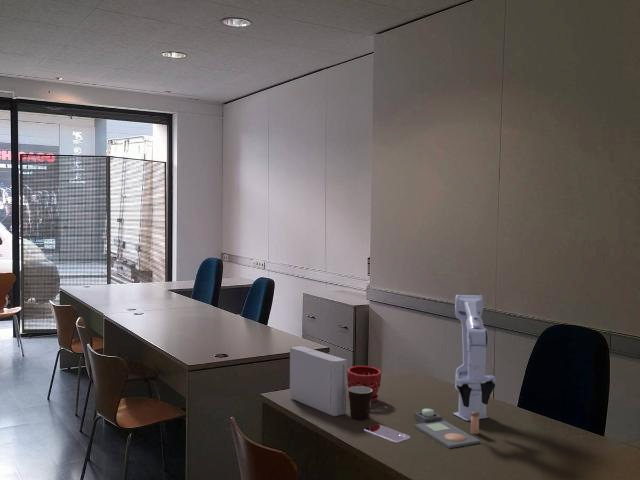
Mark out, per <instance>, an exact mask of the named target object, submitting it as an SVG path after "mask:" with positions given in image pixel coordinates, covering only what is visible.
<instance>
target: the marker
mask: <svg viewBox="0 0 640 480" xmlns="http://www.w3.org/2000/svg"><path fill="white" fill-rule="evenodd" d="M479 427H480V419H479V412H478V411H471V420H470V434H472V435H478V434H479V433H480V428H479Z"/></svg>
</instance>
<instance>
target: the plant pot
mask: <svg viewBox="0 0 640 480" xmlns="http://www.w3.org/2000/svg"><path fill="white" fill-rule="evenodd" d="M363 373H364V374H363ZM381 381H382V371H381V370H380V369H378V368H376V367H373V366H369V365H356V366H351V367H349V368H347V387H348V389H349V388H350V387H354V386H364V387H369V388H371V389H372V390H373V391H372V398H371V404H372V403H375V402H376V401H377V400H378V398H379V395H378V392H379V390H380V387H381ZM347 396H348V398H349V392H348V394H347Z"/></svg>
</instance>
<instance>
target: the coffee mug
mask: <svg viewBox="0 0 640 480" xmlns="http://www.w3.org/2000/svg"><path fill="white" fill-rule="evenodd" d="M347 390H348V391H347V392H348V393H349V397H348V402H349V410H350V411H349V412H350V418H351V419H352V420H354V421H366V420H367V421H368V420H369V418H370V411H371V404H372V403H371V398H372V391H373V390H372V389H371V388H369V387H364V386H354V387H350V388H348V389H347Z"/></svg>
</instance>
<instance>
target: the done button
mask: <svg viewBox="0 0 640 480" xmlns="http://www.w3.org/2000/svg"><path fill="white" fill-rule="evenodd" d="M434 411H435V410H434V409H432V408H423V409H421V412H422V416H424V417H425V418H427V417H434Z"/></svg>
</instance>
